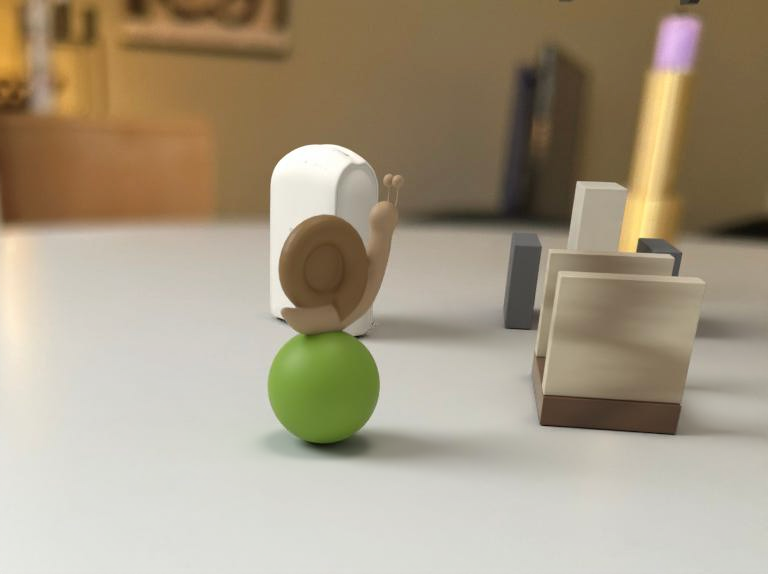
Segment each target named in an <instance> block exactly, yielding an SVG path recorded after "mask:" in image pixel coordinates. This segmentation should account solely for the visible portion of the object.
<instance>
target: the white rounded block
mask: <svg viewBox="0 0 768 574" xmlns="http://www.w3.org/2000/svg"><path fill="white" fill-rule="evenodd" d="M269 190H270V195H269V197H270V201H269V211H270V212H269V308H270V313H271V315H272V316H274V317H276V318H279V319H281V320H284V319H283V317H282V315H281V309H282V308H285V307H290V308H296V307H295V306H294V305H293V304H292V303H291V302H290V300H289V299H288V298H287V297H286V295H285V294H284V292H283V290H282V287H281V284H280V281H279V272H278V267H279V258H280V254H281V250H282V248H283V245H284V243H285V241H286V239H287V237H288V236H289V234H290V233H291V232H292V231H293V229H294V228H295V227H296V226H297V225H299V224H300V223H301V222H303V221H304V220H306V219H308V218H310V217H313V216H317V215H323V214H326V215H334V216H337V217H340V218H342V219H344V220H345V221H347V222H348V223H350V224H351V225H352V226H353V227H354V228H355V229H356V230H357V232H358V233H359V235H360V237H361V238H362V240H363V243H364V246H365V248H366V247H367V243H368V239H369V235H370V223H369V215H370V212H371V210H372V208H373V207H374V206H375V205H376V204H377V203H379V182H378V177H377V175H376V172H375V170H374V168H373V167H372V166H371V164H370V163H369V162H368V161H367V160H366V159H365V158H363V157H362V156H361V155H359V154H358V153H357V152H354V151H353V150H351V149H349V148H346V147H343V146H341V145H338V144H331V143H329V144H328V143H327V144H326V143H325V144H307V145H304V146H303V145H302V146H300V147H298V148H295V149H293V150H292V151H290V152H288V153H287V154H286V155H284V156H283V157H282V158H281V159H280V160H279V161H278V162H277V164H276V165H275V167H274V169H273V170H272V175H271V179H270V189H269ZM373 310H374V303H373V304H372V306H371V307H370V309H369V310H368V311H367V312H366V313H365V314H364V315H363V316H362V317H361V318H360V319H358V320H357V321H355V322H354V323H353V324H351V325H350V326H348V327H347V328H345V329H344V330H342V331H344V332H347V333H349V334H351V335H352V336H354V337H357V336H363V335H365V334H366V333H367V331H369V330H371V327H372V323H373V322H372V321H373V312H374V311H373Z"/></svg>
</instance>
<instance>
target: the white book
mask: <svg viewBox="0 0 768 574" xmlns="http://www.w3.org/2000/svg"><path fill="white" fill-rule="evenodd" d="M628 191H629V189H628V188H626V187H624V186H622V185H621V184H619V183H617V182H615V181H613V182H611V181H585V180H584V181H583V180H581V181H580V180H577V181H576V184H575V191H574V197H573V205H572V212H571V217H570V219H571V220H570V225H569V232H568V240H567V247H566V250H589V251H611V252H619V245H620V239H621V234H622V228H623V223H624V215H625V210H626V203H627V198H628Z"/></svg>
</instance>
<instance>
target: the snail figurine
mask: <svg viewBox="0 0 768 574" xmlns="http://www.w3.org/2000/svg"><path fill="white" fill-rule="evenodd" d="M382 180H383V181H382V182H383V184H384V186H385V187H387V200H383V201H382V200H381V201H378V203H377V204H376V205H375V206H374V207H373V208H372V210H371V212H370V215H369V223H370V235H369V239H368V243H367V247H366V248H365V246H364V243H363V240H362V238H361V237H360V235H359V233H358V232H357V230H356V229H355V228H354V227H353V226H352V225H351V224H350V223H348V222H347V221H345V220H344V219H342V218H340V217H337V216H334V215H326V214H323V215H317V216H313V217H310V218H308V219H306V220H304V221H303V222H301V223H300V224H299V225H297V226H296V227H295V228H294V229H293V231H292V232H291V233H290V234H289V236H288V237H287V239H286V241H285V243H284V245H283V248H282V250H281V254H280V258H279V267H278V272H279V281H280V284H281V287H282V290H283V292H284V294H285V295H286V297H287V298H288V299H289V300H290V302H291V303H292V304H293V305H294V306H295V307H296V308H290V307H285V308H282V309H281V315H282V317H283V319H282V320H283V321H285V322H286V324H288V325H289V326H290V328H291V329H293V330H294V331H295V332H297V334H296V335H294V336H293V337H291V338H290V339H289V340H287V342H285V344H283V345H282V346H281V347H280V349H279V350H278V351H277V353H276V355H275V356H274V358H273V360H272V362H271V365H270V368H269V372H268V377H267V394H268V400H269V401H268V402H269V404H270V407H271V410H272V412H273V414H274V416H275V417H276V419H277V420H278V422H279V423H280V424H281V425H282V426H283V427H284V429H286V431H288V432H289V433H290V434H292V435H293V436H295V437H296V438H298V439H301V440H304V441H306V442H309V443H314V444H332V443H333V444H334V443H337V442H340V441H343V440H346V439H348V438H350V437H352V436H354V435H355V434H356V433H358V432H359V431H360V430H361V429H363V427H364V426H365V425H366V424H367V423H368V421H370V419H371V417H372V416H373V414H374V412H375V409H376V407H377V405H378V401H379V398H380V389H381V379H380V373H379V369H378V366H377V362H376V360H375V358H374V357H373V355H372V353H371V351H370V350H369V349H368V347H367V346H366V345H365V344H364V343H363V342H362V341H361V340H360V339H359V338H357V337H356V336H352V335H351V334H349V333H347V332H344V331H342V330H344V329H345V328H347V327H348V326H350V325H351V324H353V323H354V322H355V321H357V320H358V319H360V318H361V317H362V316H363V315H364V314H365V313H366V312H367V311H368V310H369V309H370V307H371V306H372V304H373V305H374V302H375V300H376V298H377V296H378V294H379V291H380V289H381V286H382V284H383V281H384V277H385V274H386V271H387V266H388V262H389V259H390V254H391V250H392V249H391V248H392V242H393V241H392V239H393V236H394V235H393V234H394V232H395V229H396V228H397V226H398V223H399V211H398V208H397V206H398V203H399V193H400V188H402V187H403V185H404V182H405V181H404V180H405V179H404V178H403V176H402V175H400V174H396V175H393V174H392V173H388V174H385V176H384V178H383V179H382ZM392 186H393V187H394V188H395V189H396V198H395V199H396V200H395V203H392V202H390V195H391V187H392Z"/></svg>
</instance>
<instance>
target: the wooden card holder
mask: <svg viewBox="0 0 768 574" xmlns="http://www.w3.org/2000/svg"><path fill="white" fill-rule="evenodd" d="M674 260H675V258H674V257H673V256H671V255H670V254H655V253H636V252H633V251H632V252H629V251H618V252H611V251H589V250H567V248H566V249H563V248H549V249H548V253H547V260H546V265H545V266H546V267H545V274H544V280H543V287H542V296H541V302H540V310H539V311H540V312H539V317H538V325H537V331H536V340H535V347H534V351H533V360H532V366H531V379H532V385H533V391H534V392H533V393H534V398H535V403H536V410H537V417H538V423H539V425H542V426H555V427H570V428H582V429H584V428H585V429H598V430H600V429H601V430H611V431H624V432H625V431H627V432H638V433H639V432H640V433H641V432H642V433H655V434H670V435H676V434H677V432H678V431H677V430H678V427H679V421H680V417H681V412H682V407H683V406H682V404H681V403H682V401H683V397H684V392H685V387H686V383H687V378H688V372H689V368H690V363H691V358H692V353H693V348H694V344H695V339H696V335H697V330H698V325H699V322H700V321H699V320H700V316H701V311H702V307H703V306H702V305H703V301H704V297H705V292H706V288H707V282H706V281H704V280H703V279H702V278H701V277H697V276H695V277H694V276H692V277H691V276H678V277H675V276H672V271H673V266H674Z"/></svg>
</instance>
